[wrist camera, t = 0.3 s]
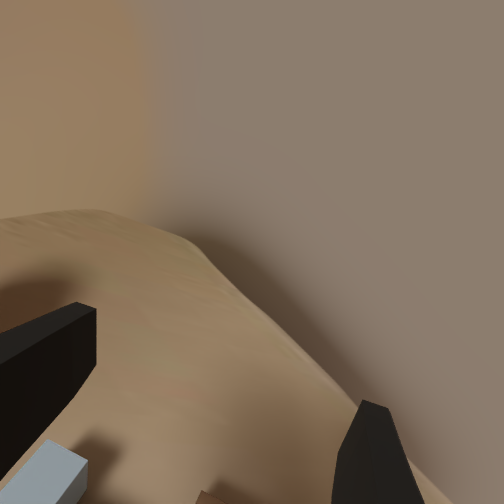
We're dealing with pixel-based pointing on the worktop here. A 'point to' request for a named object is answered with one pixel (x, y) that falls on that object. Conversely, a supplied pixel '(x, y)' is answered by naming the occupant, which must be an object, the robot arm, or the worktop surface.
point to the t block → (48, 478)
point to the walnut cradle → (208, 499)
